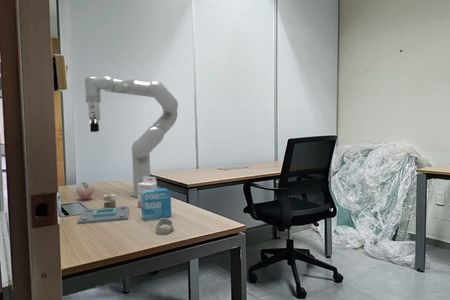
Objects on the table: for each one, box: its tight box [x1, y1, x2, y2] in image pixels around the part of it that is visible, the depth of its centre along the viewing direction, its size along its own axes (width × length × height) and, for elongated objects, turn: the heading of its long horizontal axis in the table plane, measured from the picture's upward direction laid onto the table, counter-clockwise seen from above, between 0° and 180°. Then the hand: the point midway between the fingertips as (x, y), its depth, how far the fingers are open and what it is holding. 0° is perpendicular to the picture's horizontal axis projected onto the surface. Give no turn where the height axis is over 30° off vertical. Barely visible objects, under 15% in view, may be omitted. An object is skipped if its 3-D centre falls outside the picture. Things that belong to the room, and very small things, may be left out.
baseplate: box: [76, 205, 130, 225], centre depth 154 cm, size 20×20×2 cm
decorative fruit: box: [75, 181, 95, 200], centre depth 187 cm, size 9×8×10 cm
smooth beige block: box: [103, 193, 117, 208], centre depth 169 cm, size 5×5×6 cm
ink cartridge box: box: [137, 176, 158, 208], centre depth 168 cm, size 9×5×15 cm, turn 65°
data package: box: [140, 187, 172, 221], centre depth 149 cm, size 12×4×12 cm, turn 114°
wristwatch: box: [155, 217, 174, 235], centre depth 131 cm, size 9×6×5 cm
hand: (94, 131), depth 188 cm, fingers open, 9 cm apart
